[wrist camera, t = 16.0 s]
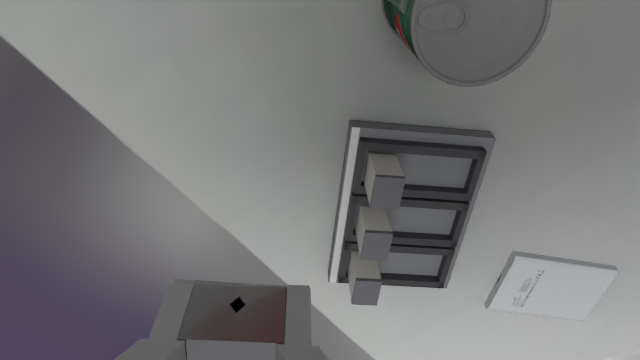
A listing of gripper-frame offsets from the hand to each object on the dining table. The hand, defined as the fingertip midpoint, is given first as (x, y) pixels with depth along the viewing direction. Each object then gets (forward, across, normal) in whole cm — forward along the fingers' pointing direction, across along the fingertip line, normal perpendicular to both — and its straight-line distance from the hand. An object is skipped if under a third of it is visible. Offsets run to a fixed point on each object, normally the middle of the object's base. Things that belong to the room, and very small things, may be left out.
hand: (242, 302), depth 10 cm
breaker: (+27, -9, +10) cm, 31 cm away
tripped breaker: (+27, -9, +21) cm, 36 cm away
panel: (+29, -13, +16) cm, 35 cm away
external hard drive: (+30, -32, +25) cm, 50 cm away
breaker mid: (+27, -9, +16) cm, 33 cm away
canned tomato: (+29, -11, -4) cm, 32 cm away
